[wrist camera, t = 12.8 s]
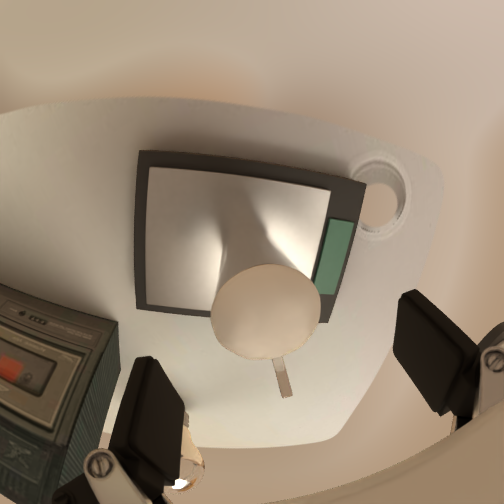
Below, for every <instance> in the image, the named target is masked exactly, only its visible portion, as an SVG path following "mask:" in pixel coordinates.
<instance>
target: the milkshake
mask: <svg viewBox="0 0 504 504" xmlns="http://www.w3.org/2000/svg"><path fill="white" fill-rule="evenodd" d="M320 310H321V303H320V296H319V293H318V291H317V289H316V287H315V285H314V284H313V282H312V281H311V280H310V279H309V278H308V277H307V276H306V275H305V274H304V273H303V272H302V271H301V270H300V269H299V268H298V267H297V266H296V265H295V264H294V263H293V262H292V261H291V260H290V259H289V258H288V257H287V255H286V254H285V253H284V252H283V251H282V250H281V248H280V247H279V246H278V245H277V244H276V242H275V241H274V240H273V239H272V238H271V237H270V236H269V235H268V234H267V233H266V232H265V231H264V230H262V229H261V228H260V227H259V226H252V225H241V226H240V227H238V228H236V229H235V230H233V231H231V232H230V233H229V234H228V237H227V239H226V241H225V244H224V246H223V251H222V257H221V263H220V270H219V276H218V282H217V286H216V291H215V296H214V301H213V304H212V308H211V323H212V327H213V330H214V333H215V335H216V338H217V339H218V341H219V343H220V344H221V345H222V346H223V347H225V348H226V349H228V350H230V351H232V352H234V353H236V354H237V355H239V356H241V357H243V358H246V359H251V360H262V359H272V361H273V364H274V368H275V372H276V376H277V380H278V384H279V388H280V392H281V395H282V398H286V397H290V396H292V390H291V386H290V383H289V379H288V375H287V372H286V368H285V364H284V361H283V357H282V356H284V355H286V354H288V353H290V352H293V351H295V350H297V349H298V348H300V347H301V346H302V345H304V344H305V342H306V341H307V340H308V339H309V338H310V336H311V335H312V333H313V332H314V330H315V328H316V326H317V324H318V322H319V319H320Z"/></svg>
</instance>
